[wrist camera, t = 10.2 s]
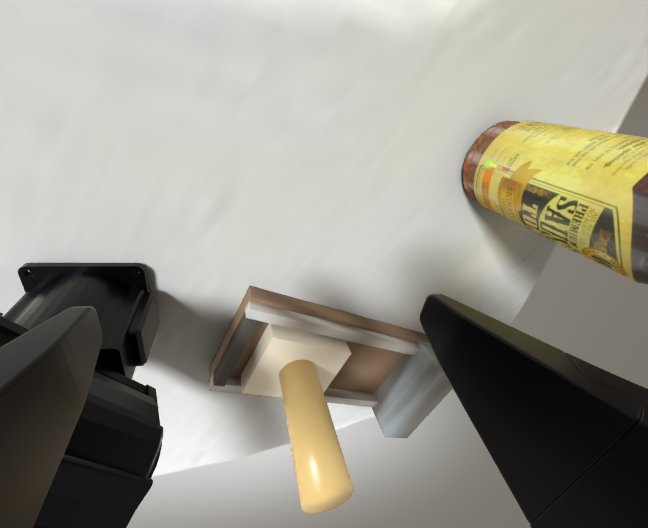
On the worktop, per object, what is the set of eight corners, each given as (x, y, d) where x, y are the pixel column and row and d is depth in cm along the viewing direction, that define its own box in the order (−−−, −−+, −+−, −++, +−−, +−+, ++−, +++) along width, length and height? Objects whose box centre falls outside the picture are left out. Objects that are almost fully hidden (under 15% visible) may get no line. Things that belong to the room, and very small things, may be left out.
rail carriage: (240, 374, 25) (247, 533, 16) (270, 321, 23) (295, 468, 14) (312, 384, 28) (351, 521, 19) (344, 337, 26) (403, 467, 17)
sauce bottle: (441, 170, 22) (1050, 416, 6) (507, 97, 21) (1585, 149, 4) (481, 217, 25) (938, 459, 9) (541, 158, 24) (1216, 318, 8)
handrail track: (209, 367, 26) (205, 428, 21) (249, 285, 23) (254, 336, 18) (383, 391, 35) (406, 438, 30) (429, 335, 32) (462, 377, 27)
